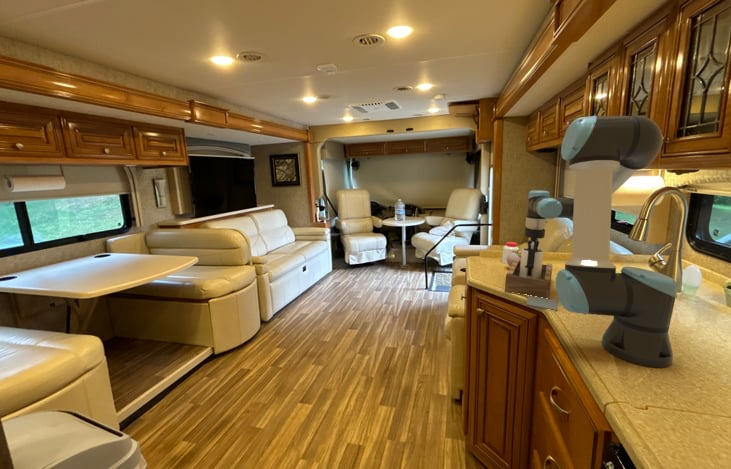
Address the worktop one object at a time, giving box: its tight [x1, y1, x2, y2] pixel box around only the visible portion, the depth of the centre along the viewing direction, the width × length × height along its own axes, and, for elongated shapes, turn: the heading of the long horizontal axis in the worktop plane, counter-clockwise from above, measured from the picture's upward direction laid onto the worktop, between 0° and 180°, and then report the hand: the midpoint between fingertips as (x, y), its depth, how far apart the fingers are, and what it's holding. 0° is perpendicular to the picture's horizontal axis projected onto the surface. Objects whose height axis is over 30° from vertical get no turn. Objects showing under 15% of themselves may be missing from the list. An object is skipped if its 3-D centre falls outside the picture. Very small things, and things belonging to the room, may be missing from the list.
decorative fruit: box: [507, 250, 522, 267], centre depth 164 cm, size 9×8×10 cm
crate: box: [504, 259, 553, 299], centre depth 142 cm, size 26×16×8 cm, turn 150°
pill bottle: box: [501, 241, 520, 265], centre depth 176 cm, size 8×8×11 cm
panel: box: [525, 295, 559, 312], centre depth 124 cm, size 10×10×1 cm
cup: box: [518, 247, 544, 280], centre depth 141 cm, size 8×8×16 cm
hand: (529, 279), depth 142 cm, fingers closed on cup, 8 cm apart
